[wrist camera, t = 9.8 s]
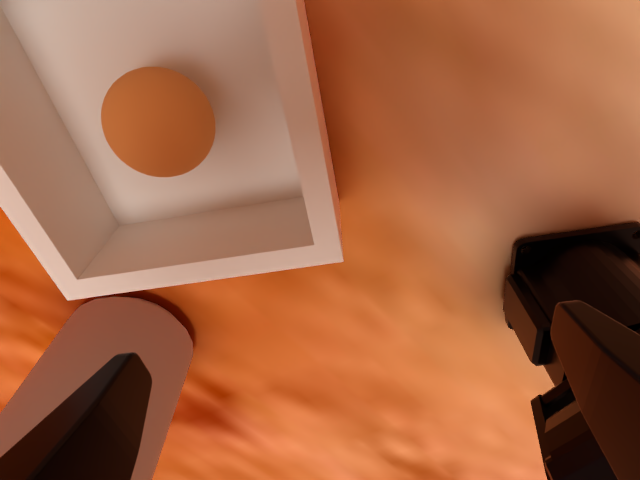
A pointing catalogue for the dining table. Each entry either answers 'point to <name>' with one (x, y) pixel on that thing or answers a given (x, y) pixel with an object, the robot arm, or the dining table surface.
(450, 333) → the dining table surface
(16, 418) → the can
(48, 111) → the box
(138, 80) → the ball
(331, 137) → the dining table surface
